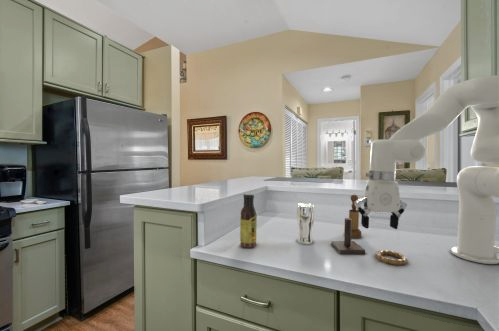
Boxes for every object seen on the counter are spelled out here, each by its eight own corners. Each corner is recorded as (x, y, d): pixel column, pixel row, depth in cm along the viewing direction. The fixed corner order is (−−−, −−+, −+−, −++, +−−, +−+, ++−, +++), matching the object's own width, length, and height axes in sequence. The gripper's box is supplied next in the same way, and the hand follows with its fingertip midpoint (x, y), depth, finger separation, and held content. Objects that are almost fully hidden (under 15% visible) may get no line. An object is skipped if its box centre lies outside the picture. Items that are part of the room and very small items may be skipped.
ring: (395, 253, 88) (395, 249, 88) (413, 265, 79) (413, 260, 79) (370, 253, 88) (370, 249, 88) (385, 265, 78) (385, 260, 78)
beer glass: (293, 242, 98) (294, 205, 97) (298, 237, 104) (299, 202, 103) (311, 246, 95) (312, 207, 94) (315, 240, 101) (316, 204, 100)
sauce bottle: (254, 249, 91) (255, 196, 90) (238, 247, 92) (238, 195, 91) (257, 243, 98) (258, 193, 97) (242, 241, 99) (242, 192, 98)
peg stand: (353, 244, 96) (354, 215, 96) (365, 254, 88) (366, 222, 87) (331, 244, 96) (331, 215, 96) (340, 254, 87) (341, 222, 87)
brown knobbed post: (364, 238, 104) (365, 196, 103) (348, 238, 104) (349, 196, 103) (357, 233, 110) (358, 193, 109) (342, 233, 110) (344, 193, 110)
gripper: (361, 177, 78) (359, 230, 79) (415, 178, 78) (412, 231, 79) (351, 175, 85) (349, 223, 86) (400, 176, 86) (397, 224, 87)
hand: (379, 227), depth 83 cm, fingers open, 9 cm apart
